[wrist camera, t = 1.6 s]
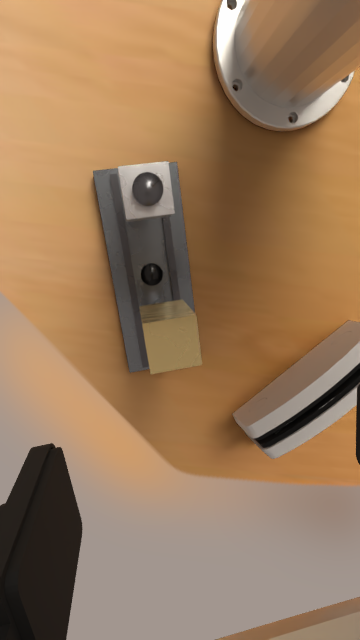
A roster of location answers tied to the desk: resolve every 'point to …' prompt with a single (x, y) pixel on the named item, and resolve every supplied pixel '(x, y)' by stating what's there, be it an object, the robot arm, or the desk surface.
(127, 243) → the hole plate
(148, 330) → the tan square-headed peg
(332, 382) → the white black arched block
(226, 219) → the desk surface
